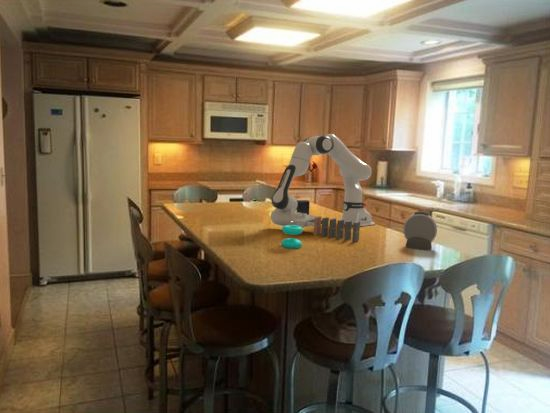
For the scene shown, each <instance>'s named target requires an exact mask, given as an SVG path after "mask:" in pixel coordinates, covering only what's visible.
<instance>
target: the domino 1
mask: <svg viewBox="0 0 550 413" xmlns="http://www.w3.org/2000/svg"><path fill="white" fill-rule="evenodd" d="M322 218H323V216H319V215H317V217H315V223H316V226H313V228H314V229H313V236H314V237H317V236H321V229H322V224H321V220H322Z"/></svg>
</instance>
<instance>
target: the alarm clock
mask: <svg viewBox="0 0 550 413" xmlns="http://www.w3.org/2000/svg"><path fill="white" fill-rule="evenodd" d="M402 230H403V231H402V232H403V235H404V238H405V239H406V243H405V247H404V248H406V249H412V250H419V251H432V247H433V246H432V242H433V241H434V240H435V239H436V237H437V233H438V225H437V222H436V220H435V219H434V218H433V217H432V216H431V215H429V213H428V212H425V211H420V210H419V211H415V212H414V213H413V214H411V215H410V216H409V217H408V218H407V219H406V220H405V222H404V223H403V227H402Z"/></svg>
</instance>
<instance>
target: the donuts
mask: <svg viewBox="0 0 550 413" xmlns="http://www.w3.org/2000/svg"><path fill="white" fill-rule="evenodd" d="M281 231H282V232H283V233H284V234H286V235H291V236H292V235H293V236H294V235H300V234H302V233H303V228H302V227H300V226H297V225H285V226H281ZM280 244H281V247H283V248H285V249H293V250H294V249H299V248H301V247H302V246H303V243H302V241H301V240H299V239H298V238H291V237H287V238H284V239H283V240H281V242H280Z"/></svg>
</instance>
